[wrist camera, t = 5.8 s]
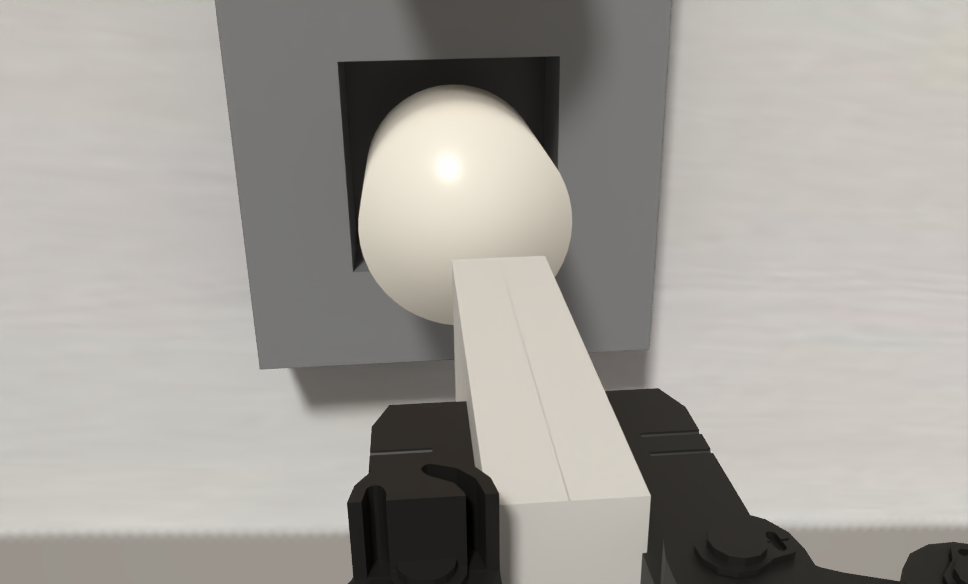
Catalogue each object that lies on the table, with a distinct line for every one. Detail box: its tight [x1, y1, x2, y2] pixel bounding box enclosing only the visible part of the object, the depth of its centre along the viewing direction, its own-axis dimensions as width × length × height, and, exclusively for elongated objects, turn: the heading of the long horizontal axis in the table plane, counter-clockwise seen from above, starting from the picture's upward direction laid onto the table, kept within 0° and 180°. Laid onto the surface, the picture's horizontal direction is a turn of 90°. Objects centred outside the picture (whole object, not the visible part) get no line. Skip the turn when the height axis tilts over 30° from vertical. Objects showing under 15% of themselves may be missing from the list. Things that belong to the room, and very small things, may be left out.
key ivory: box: [358, 84, 572, 325], centre depth 22 cm, size 5×5×5 cm
